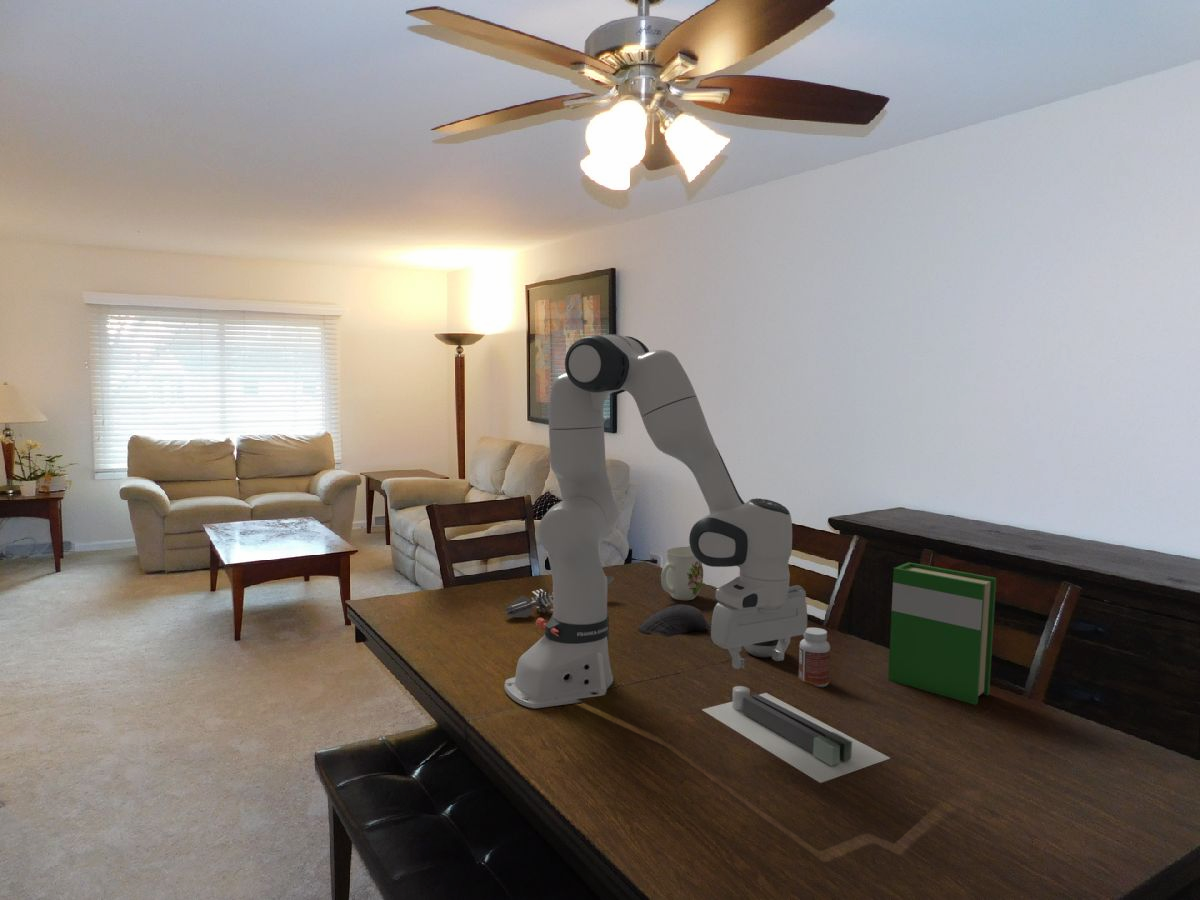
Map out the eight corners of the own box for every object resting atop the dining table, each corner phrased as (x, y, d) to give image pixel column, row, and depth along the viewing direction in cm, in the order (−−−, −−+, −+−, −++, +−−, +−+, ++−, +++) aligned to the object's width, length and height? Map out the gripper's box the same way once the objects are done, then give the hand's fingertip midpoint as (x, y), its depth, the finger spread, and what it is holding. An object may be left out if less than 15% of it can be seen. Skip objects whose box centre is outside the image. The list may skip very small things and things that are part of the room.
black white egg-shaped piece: (758, 664, 172) (761, 597, 171) (730, 649, 181) (732, 585, 180) (794, 657, 177) (797, 591, 175) (764, 643, 186) (766, 580, 184)
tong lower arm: (727, 706, 148) (727, 688, 147) (741, 703, 150) (742, 684, 149) (831, 767, 125) (832, 746, 125) (847, 762, 127) (848, 741, 127)
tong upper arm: (750, 711, 145) (751, 695, 145) (757, 708, 146) (758, 693, 146) (843, 761, 127) (844, 744, 126) (851, 758, 128) (852, 741, 127)
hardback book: (989, 694, 157) (996, 578, 155) (976, 705, 152) (983, 584, 150) (903, 670, 170) (908, 562, 167) (888, 679, 164) (893, 568, 162)
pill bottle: (835, 684, 162) (837, 632, 161) (815, 690, 158) (817, 637, 157) (812, 674, 167) (814, 624, 166) (792, 680, 163) (793, 629, 162)
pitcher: (646, 600, 220) (647, 552, 218) (684, 587, 233) (685, 542, 232) (677, 608, 212) (678, 559, 211) (715, 595, 226) (716, 548, 224)
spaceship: (624, 574, 216) (607, 559, 222) (515, 609, 196) (499, 591, 202) (619, 597, 220) (603, 581, 225) (511, 633, 200) (496, 615, 205)
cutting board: (820, 788, 121) (820, 782, 121) (701, 714, 147) (701, 709, 147) (890, 763, 129) (890, 758, 129) (765, 697, 155) (766, 692, 155)
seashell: (722, 643, 193) (726, 611, 193) (654, 644, 185) (659, 611, 185) (692, 624, 206) (697, 595, 206) (628, 625, 198) (632, 594, 198)
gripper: (793, 579, 148) (788, 649, 150) (708, 591, 138) (703, 666, 140) (818, 588, 143) (812, 661, 145) (731, 601, 133) (725, 679, 134)
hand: (758, 663), depth 142 cm, fingers open, 8 cm apart
